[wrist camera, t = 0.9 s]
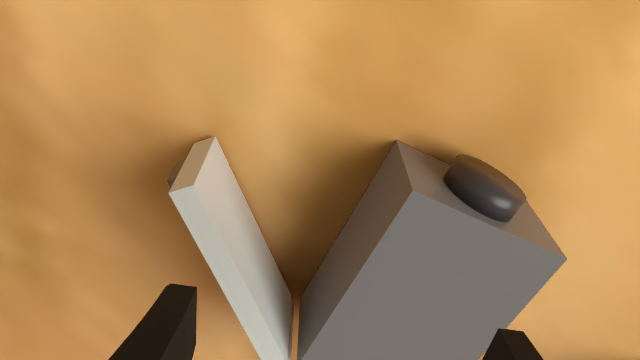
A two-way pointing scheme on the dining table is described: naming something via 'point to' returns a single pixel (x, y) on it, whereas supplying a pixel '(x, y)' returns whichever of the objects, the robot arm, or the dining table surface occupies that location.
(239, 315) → the side door
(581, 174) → the dining table surface
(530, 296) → the camera case
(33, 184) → the dining table surface
